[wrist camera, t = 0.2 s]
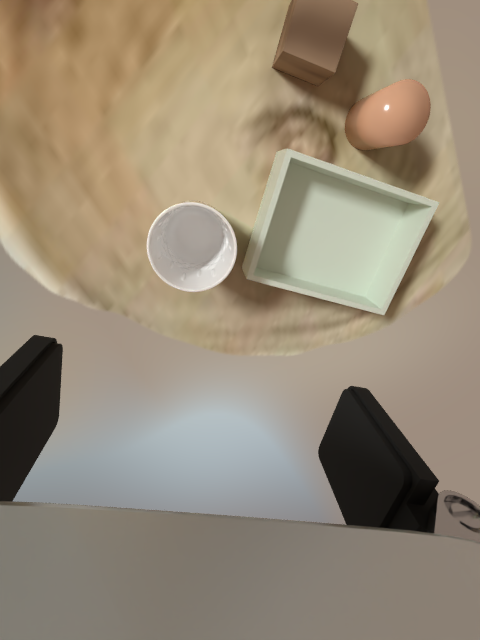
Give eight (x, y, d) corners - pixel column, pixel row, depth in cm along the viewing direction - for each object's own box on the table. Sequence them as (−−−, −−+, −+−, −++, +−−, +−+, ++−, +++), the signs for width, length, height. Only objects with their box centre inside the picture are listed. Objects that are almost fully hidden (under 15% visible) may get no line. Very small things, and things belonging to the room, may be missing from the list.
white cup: (224, 191, 37) (231, 196, 28) (233, 260, 40) (241, 285, 31) (153, 200, 37) (137, 208, 28) (167, 269, 40) (157, 297, 31)
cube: (288, 6, 31) (303, -23, 27) (336, 27, 32) (358, 3, 28) (271, 67, 33) (282, 50, 29) (317, 86, 34) (335, 72, 30)
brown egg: (356, 89, 35) (391, 70, 28) (398, 106, 36) (440, 91, 29) (337, 141, 36) (366, 134, 30) (377, 156, 37) (413, 152, 31)
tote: (276, 151, 36) (287, 148, 32) (412, 199, 40) (439, 202, 35) (241, 267, 41) (246, 279, 36) (365, 300, 44) (384, 315, 40)
